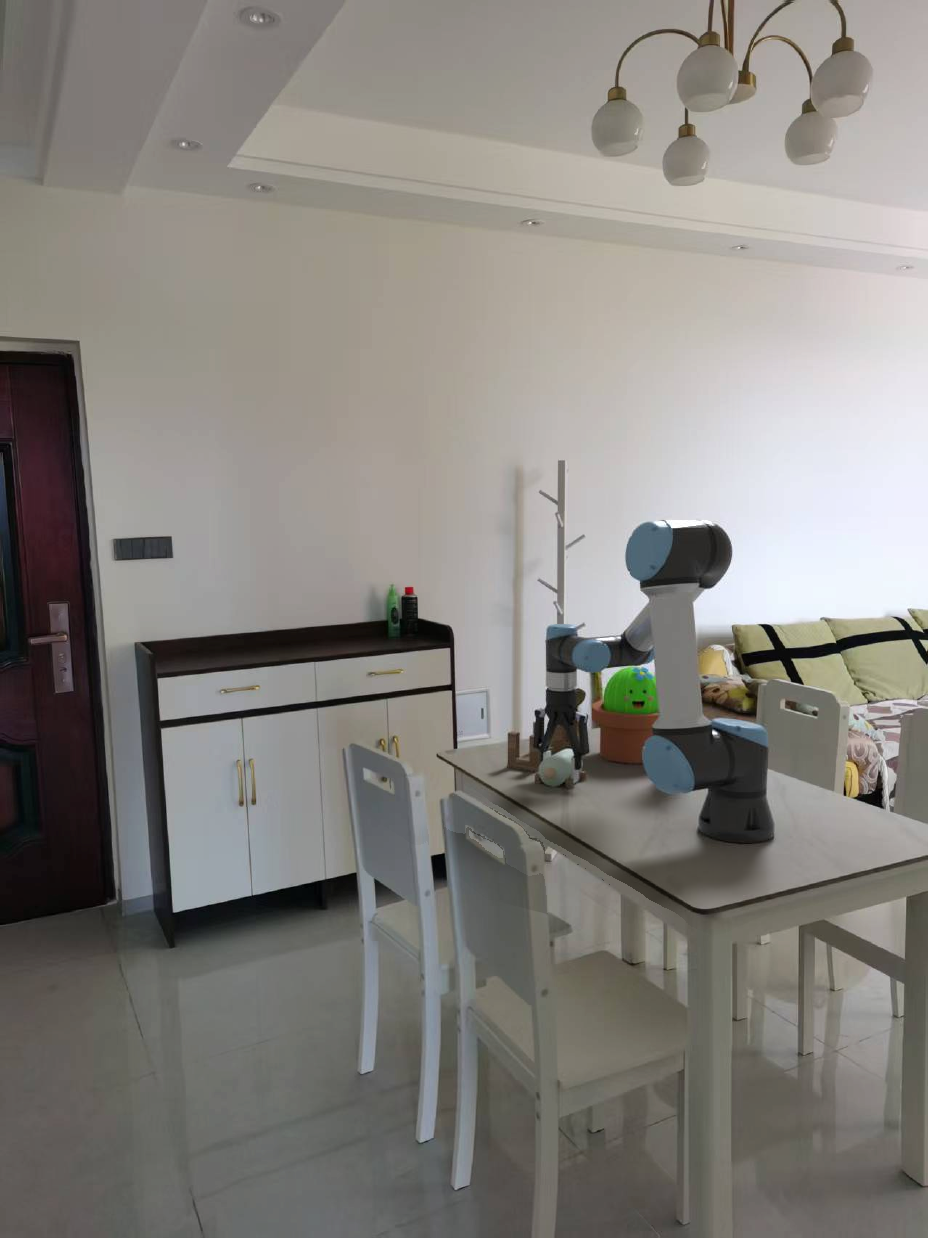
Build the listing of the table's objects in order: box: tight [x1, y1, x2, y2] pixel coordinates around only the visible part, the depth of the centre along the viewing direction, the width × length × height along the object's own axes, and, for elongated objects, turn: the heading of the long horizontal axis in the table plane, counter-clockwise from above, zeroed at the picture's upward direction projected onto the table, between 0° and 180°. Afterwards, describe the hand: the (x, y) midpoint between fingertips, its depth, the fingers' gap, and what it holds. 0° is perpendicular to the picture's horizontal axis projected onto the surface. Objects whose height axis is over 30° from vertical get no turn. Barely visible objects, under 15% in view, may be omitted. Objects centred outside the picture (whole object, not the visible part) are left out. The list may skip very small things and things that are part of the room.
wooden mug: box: [549, 687, 587, 749], centre depth 261 cm, size 9×14×18 cm, turn 14°
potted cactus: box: [591, 665, 659, 765], centre depth 250 cm, size 22×22×25 cm
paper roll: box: [538, 748, 583, 787], centre depth 229 cm, size 14×7×7 cm, turn 148°
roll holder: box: [506, 720, 566, 773], centre depth 246 cm, size 16×9×9 cm, turn 147°
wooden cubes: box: [534, 770, 587, 790], centre depth 229 cm, size 9×10×2 cm
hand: (560, 779), depth 229 cm, fingers closed on paper roll, 7 cm apart
